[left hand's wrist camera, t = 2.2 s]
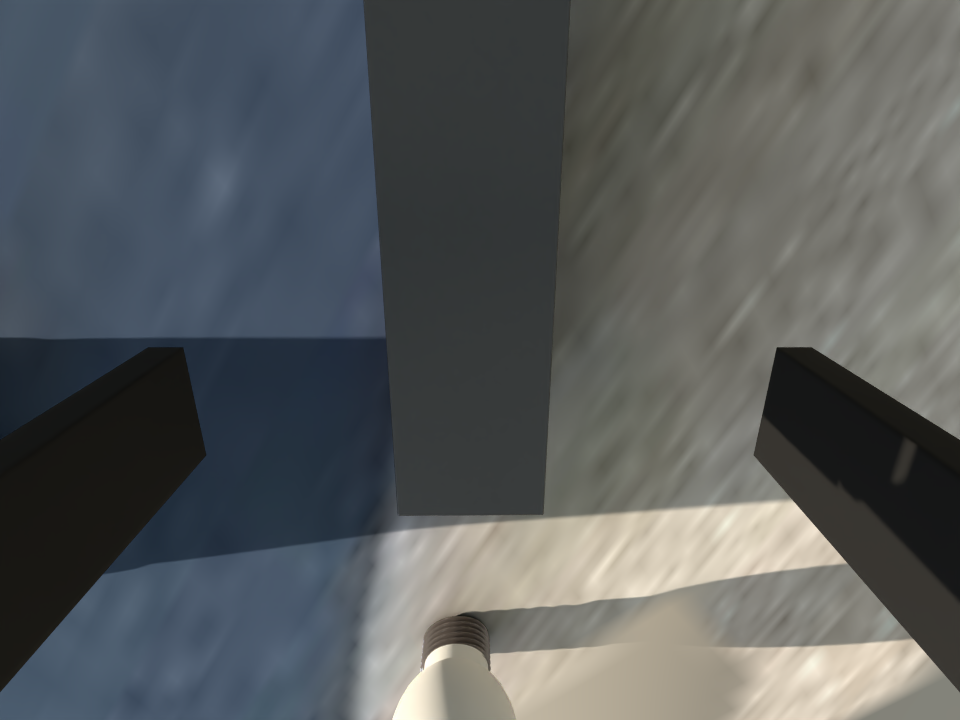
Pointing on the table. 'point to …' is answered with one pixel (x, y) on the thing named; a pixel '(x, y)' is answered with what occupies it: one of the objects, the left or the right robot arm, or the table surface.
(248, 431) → the table surface
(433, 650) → the light bulb
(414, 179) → the post
